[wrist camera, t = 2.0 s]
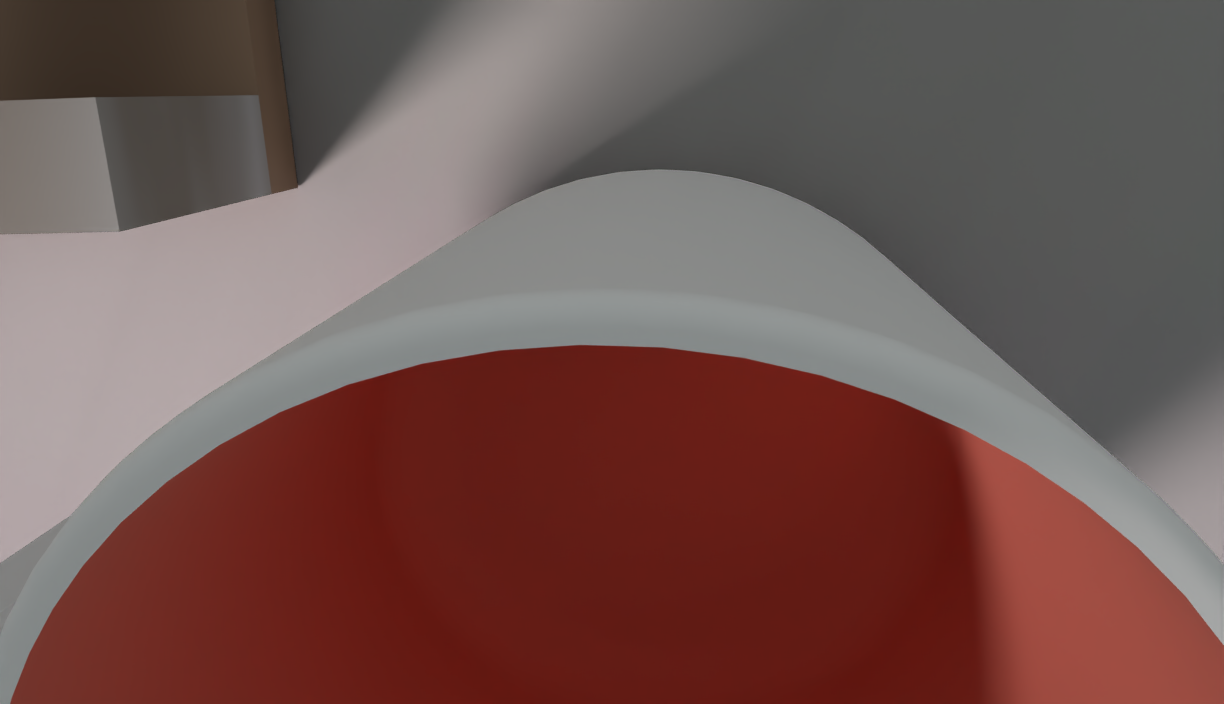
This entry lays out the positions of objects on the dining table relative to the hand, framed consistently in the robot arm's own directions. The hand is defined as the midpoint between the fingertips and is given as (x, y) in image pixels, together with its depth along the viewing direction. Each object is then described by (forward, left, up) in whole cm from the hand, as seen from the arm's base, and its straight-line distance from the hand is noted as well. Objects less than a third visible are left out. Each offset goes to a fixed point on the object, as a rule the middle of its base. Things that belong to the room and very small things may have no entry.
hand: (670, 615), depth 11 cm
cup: (0, 0, -6) cm, 6 cm away
